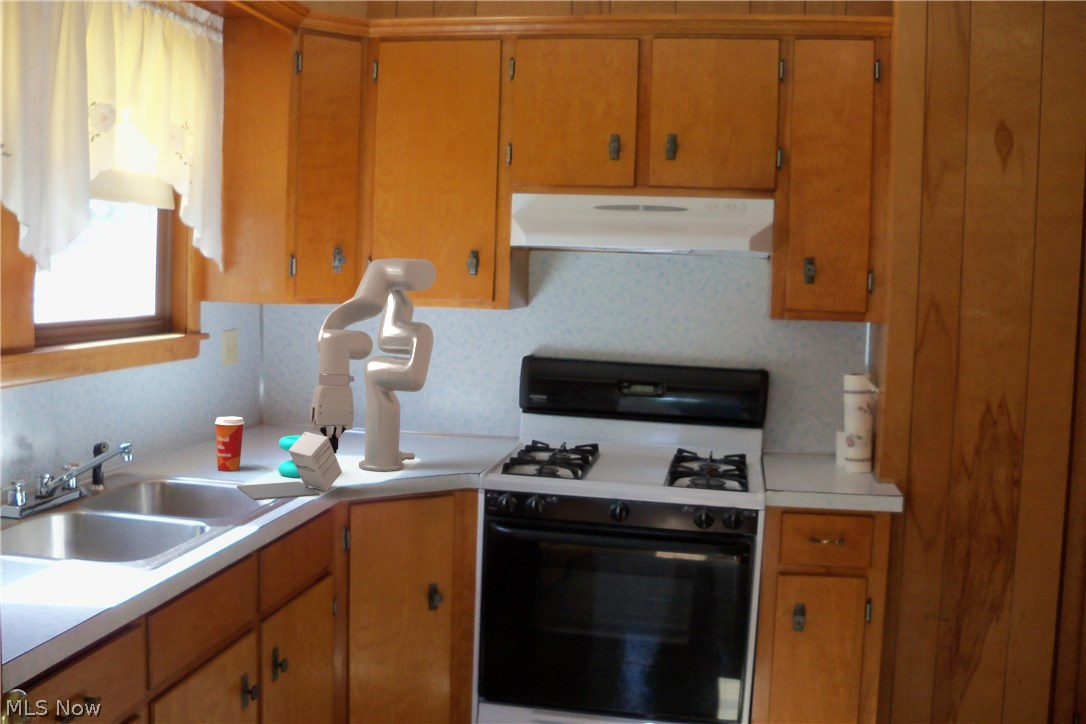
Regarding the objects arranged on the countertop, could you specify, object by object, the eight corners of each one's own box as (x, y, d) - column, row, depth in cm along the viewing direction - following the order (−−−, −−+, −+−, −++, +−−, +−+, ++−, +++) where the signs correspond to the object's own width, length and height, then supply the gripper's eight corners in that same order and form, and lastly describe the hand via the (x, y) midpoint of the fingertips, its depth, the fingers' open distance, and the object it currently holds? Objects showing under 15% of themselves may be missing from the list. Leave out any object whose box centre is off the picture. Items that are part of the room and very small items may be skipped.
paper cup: (209, 468, 268) (210, 416, 267) (236, 465, 273) (237, 415, 272) (220, 473, 262) (221, 420, 261) (248, 470, 267) (249, 419, 266)
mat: (299, 482, 255) (299, 481, 255) (319, 494, 242) (319, 493, 242) (236, 487, 246) (236, 485, 246) (253, 500, 234) (254, 498, 234)
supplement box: (303, 486, 249) (286, 450, 241) (320, 466, 254) (305, 430, 246) (326, 492, 246) (310, 456, 238) (343, 472, 251) (328, 436, 243)
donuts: (310, 433, 271) (322, 439, 263) (309, 469, 272) (321, 476, 264) (274, 435, 266) (285, 441, 258) (273, 472, 267) (284, 479, 259)
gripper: (356, 379, 257) (353, 449, 258) (300, 379, 248) (297, 451, 250) (367, 382, 250) (364, 454, 252) (310, 382, 242) (307, 456, 243)
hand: (331, 452), depth 251 cm, fingers closed
